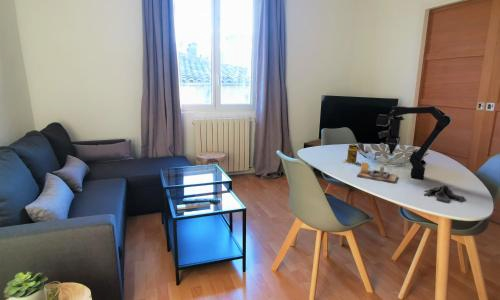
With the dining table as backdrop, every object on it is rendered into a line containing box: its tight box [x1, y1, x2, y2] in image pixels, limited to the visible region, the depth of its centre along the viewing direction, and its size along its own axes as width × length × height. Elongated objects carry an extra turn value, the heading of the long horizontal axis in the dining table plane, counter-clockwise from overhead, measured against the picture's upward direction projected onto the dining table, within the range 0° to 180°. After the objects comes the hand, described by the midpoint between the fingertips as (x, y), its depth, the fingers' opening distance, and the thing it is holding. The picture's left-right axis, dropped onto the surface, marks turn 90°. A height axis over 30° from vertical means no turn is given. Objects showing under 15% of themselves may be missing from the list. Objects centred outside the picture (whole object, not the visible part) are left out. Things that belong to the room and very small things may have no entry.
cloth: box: [423, 184, 466, 204], centre depth 151 cm, size 22×19×6 cm
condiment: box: [342, 143, 358, 165], centre depth 209 cm, size 7×8×12 cm
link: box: [360, 161, 390, 178], centre depth 179 cm, size 15×9×6 cm, turn 57°
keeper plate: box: [356, 165, 398, 184], centre depth 178 cm, size 20×13×7 cm, turn 57°
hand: (391, 152), depth 185 cm, fingers open, 9 cm apart
